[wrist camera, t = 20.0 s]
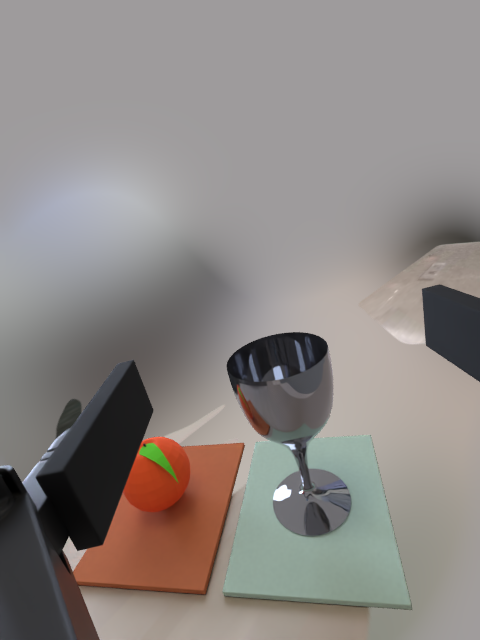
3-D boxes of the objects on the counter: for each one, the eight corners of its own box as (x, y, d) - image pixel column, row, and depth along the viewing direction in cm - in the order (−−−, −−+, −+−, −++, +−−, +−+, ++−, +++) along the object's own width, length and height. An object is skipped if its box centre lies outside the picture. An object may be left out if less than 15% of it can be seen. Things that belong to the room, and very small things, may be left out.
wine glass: (254, 524, 29) (206, 378, 24) (286, 459, 35) (254, 333, 30) (345, 555, 25) (308, 385, 20) (364, 474, 31) (339, 330, 26)
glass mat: (223, 596, 24) (222, 591, 24) (256, 445, 39) (255, 441, 39) (412, 610, 21) (411, 605, 21) (371, 438, 35) (370, 434, 35)
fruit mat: (69, 584, 28) (67, 580, 28) (151, 451, 43) (150, 448, 43) (205, 594, 25) (203, 590, 25) (244, 445, 39) (243, 442, 39)
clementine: (218, 491, 33) (198, 435, 31) (164, 549, 29) (136, 488, 27) (174, 464, 39) (154, 414, 37) (122, 508, 34) (96, 455, 32)
